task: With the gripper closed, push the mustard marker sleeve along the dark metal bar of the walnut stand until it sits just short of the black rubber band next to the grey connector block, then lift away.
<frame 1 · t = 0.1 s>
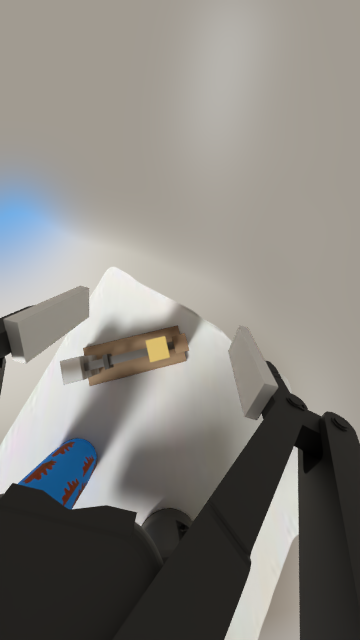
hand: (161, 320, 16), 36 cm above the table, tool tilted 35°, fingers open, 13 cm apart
thermos: (75, 460, 45), on the table
sleeve: (158, 348, 40), point 10 cm above the table, slide at 0.0 cm
rod stand: (136, 354, 50), on the table
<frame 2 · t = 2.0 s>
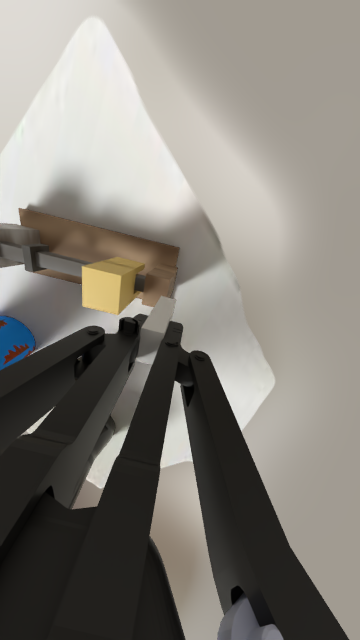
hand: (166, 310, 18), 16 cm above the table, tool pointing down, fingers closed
thermos: (13, 336, 41), on the table
sleeve: (117, 282, 23), point 10 cm above the table, slide at 0.0 cm
rod stand: (101, 259, 32), on the table
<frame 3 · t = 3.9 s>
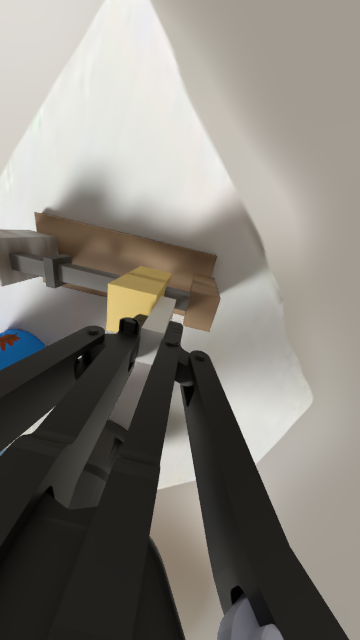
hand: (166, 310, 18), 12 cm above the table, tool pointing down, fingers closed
thermos: (26, 350, 38), on the table
sleeve: (144, 297, 19), point 10 cm above the table, slide at 1.3 cm, touching gripper
rod stand: (126, 268, 28), on the table
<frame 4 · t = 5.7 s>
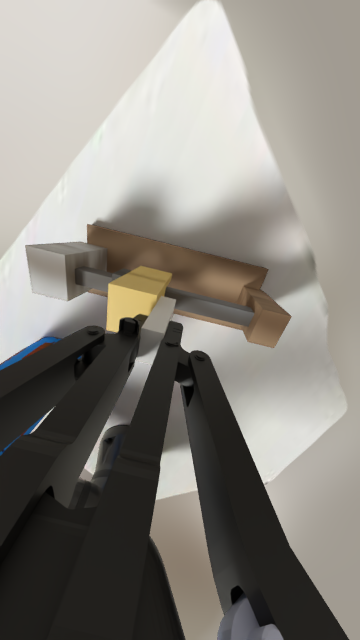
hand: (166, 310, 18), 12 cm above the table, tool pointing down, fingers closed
thermos: (59, 357, 38), on the table
sleeve: (144, 297, 19), point 10 cm above the table, slide at 8.7 cm, touching gripper
rod stand: (172, 279, 28), on the table
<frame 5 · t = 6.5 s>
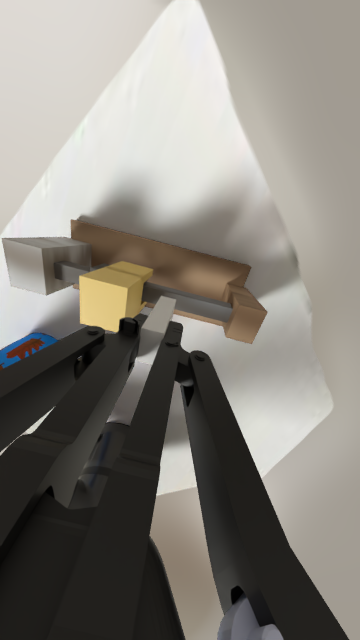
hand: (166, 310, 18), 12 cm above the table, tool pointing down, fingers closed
thermos: (47, 354, 38), on the table
sleeve: (122, 291, 19), point 10 cm above the table, slide at 8.7 cm
rod stand: (157, 276, 28), on the table
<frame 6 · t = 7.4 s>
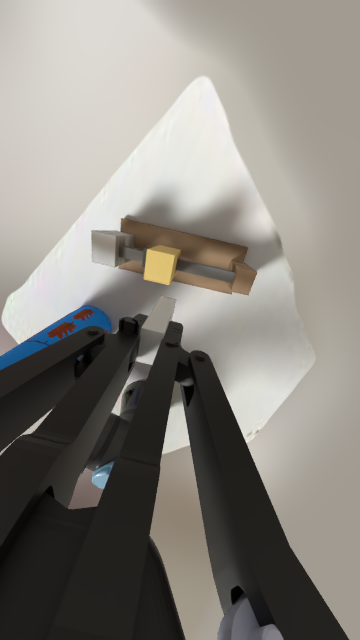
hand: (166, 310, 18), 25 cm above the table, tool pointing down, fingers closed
thermos: (93, 323, 49), on the table
sleeve: (164, 263, 30), point 10 cm above the table, slide at 8.7 cm
rod stand: (180, 257, 39), on the table
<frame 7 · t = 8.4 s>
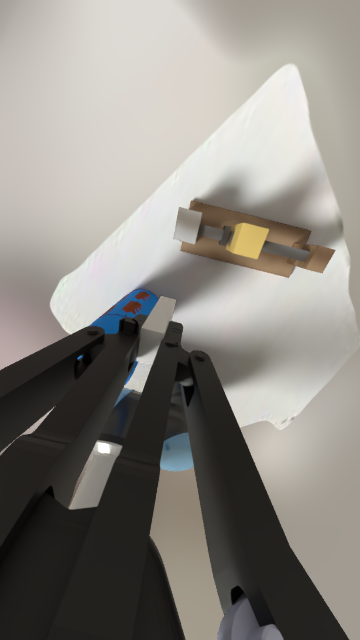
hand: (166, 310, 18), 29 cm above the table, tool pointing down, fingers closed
thermos: (143, 307, 50), on the table
sleeve: (244, 240, 32), point 10 cm above the table, slide at 8.7 cm
rod stand: (241, 241, 41), on the table
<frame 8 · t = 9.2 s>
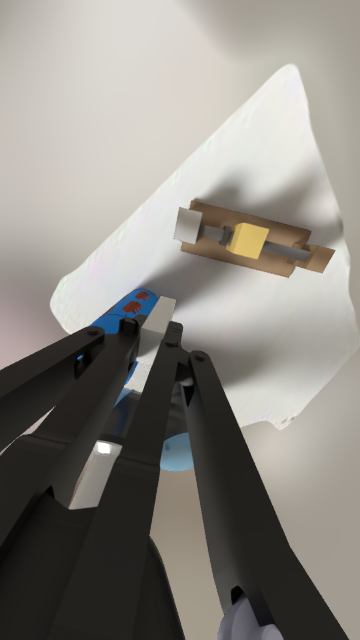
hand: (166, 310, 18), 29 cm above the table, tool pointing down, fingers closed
thermos: (143, 307, 50), on the table
sleeve: (244, 240, 32), point 10 cm above the table, slide at 8.7 cm
rod stand: (241, 241, 41), on the table
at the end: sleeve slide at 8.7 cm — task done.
